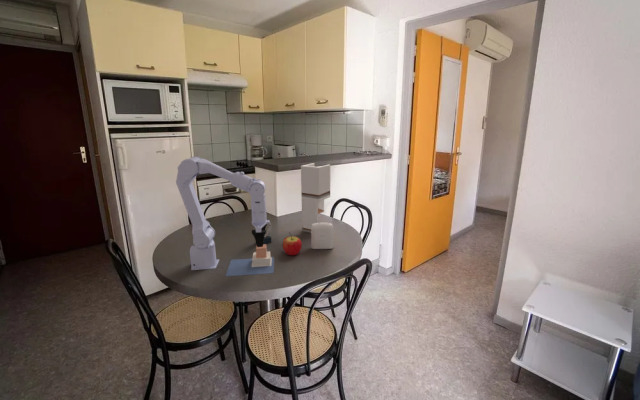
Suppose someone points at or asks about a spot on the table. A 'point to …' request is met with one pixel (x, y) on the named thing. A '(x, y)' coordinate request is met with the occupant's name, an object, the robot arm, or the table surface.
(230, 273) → the blueprint board
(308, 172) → the tall white column
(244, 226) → the table surface
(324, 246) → the photo printer
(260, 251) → the terracotta block
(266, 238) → the watch
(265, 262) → the base block
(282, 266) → the table surface
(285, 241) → the apple
